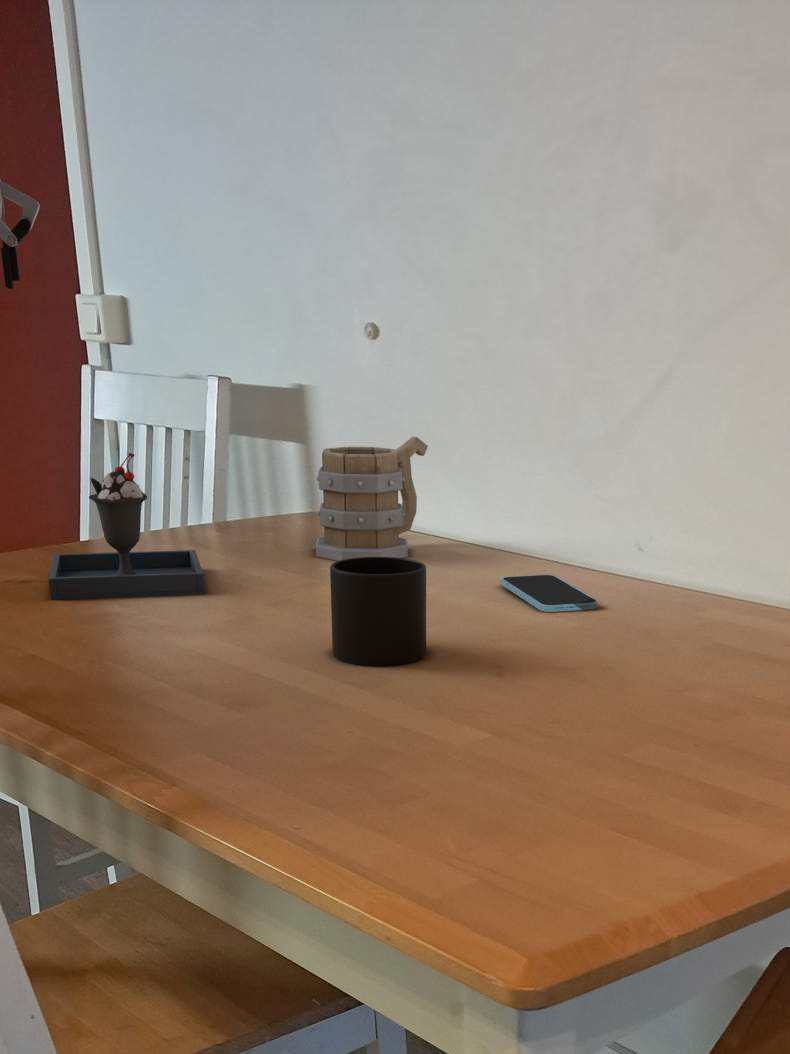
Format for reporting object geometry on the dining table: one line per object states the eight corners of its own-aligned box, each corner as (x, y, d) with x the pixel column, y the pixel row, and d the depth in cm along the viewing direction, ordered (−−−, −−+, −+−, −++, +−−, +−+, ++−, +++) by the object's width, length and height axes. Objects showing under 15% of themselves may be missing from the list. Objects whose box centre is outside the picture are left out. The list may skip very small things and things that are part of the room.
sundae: (165, 580, 157) (154, 453, 151) (117, 587, 153) (104, 457, 147) (135, 572, 161) (124, 448, 155) (88, 579, 157) (74, 452, 151)
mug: (408, 636, 136) (408, 550, 132) (436, 664, 125) (436, 572, 122) (321, 640, 134) (318, 553, 130) (341, 670, 123) (339, 576, 119)
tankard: (361, 567, 170) (359, 450, 164) (297, 554, 177) (293, 441, 171) (460, 548, 184) (461, 439, 178) (397, 537, 191) (396, 432, 185)
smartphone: (543, 605, 146) (498, 577, 159) (543, 615, 147) (498, 585, 159) (600, 602, 148) (552, 574, 161) (600, 611, 149) (551, 582, 162)
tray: (51, 601, 148) (48, 578, 147) (55, 574, 162) (53, 554, 161) (204, 595, 152) (203, 573, 151) (196, 570, 166) (195, 549, 165)
